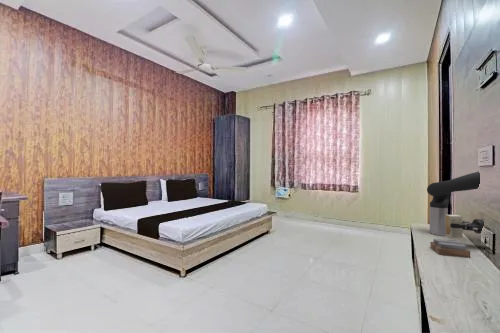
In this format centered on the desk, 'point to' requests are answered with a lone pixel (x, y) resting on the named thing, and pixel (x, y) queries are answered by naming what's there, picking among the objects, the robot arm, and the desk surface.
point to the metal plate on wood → (449, 248)
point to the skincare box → (453, 231)
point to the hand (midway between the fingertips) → (448, 224)
